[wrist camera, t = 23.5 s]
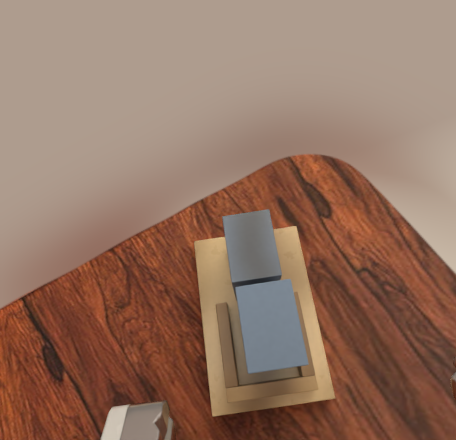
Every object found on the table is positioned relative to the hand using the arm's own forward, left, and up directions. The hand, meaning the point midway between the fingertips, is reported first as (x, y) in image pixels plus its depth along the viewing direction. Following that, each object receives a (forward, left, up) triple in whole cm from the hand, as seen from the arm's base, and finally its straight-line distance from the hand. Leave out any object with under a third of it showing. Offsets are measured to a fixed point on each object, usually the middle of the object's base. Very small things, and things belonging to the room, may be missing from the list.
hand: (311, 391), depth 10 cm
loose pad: (-2, +2, -20) cm, 21 cm away
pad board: (-3, +4, -22) cm, 23 cm away
